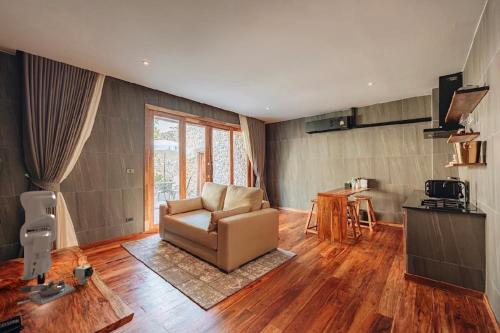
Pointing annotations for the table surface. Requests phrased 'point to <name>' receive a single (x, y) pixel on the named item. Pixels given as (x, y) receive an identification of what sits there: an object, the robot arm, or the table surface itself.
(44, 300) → the flange plate
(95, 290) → the table surface
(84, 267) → the pneumatic valve
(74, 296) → the table surface
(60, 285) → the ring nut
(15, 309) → the table surface
